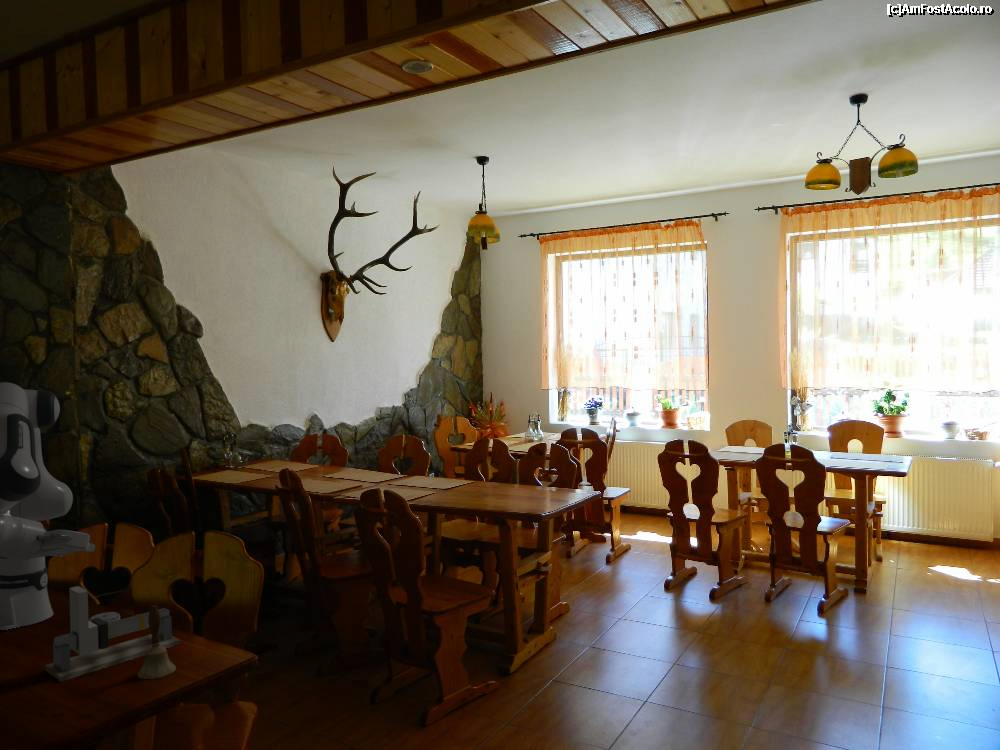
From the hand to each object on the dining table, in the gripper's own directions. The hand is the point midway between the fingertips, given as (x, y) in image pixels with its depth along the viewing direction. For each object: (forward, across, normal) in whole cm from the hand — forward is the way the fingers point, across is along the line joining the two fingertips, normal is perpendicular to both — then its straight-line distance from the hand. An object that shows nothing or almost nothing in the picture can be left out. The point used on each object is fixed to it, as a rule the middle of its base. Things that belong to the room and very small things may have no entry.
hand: (79, 550), depth 174 cm
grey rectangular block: (+11, +5, +21) cm, 25 cm away
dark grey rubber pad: (+14, +4, +20) cm, 25 cm away
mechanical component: (+28, +21, +15) cm, 38 cm away
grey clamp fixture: (+18, +4, +22) cm, 28 cm away
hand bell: (+18, -13, +27) cm, 35 cm away
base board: (+19, +4, +23) cm, 30 cm away
